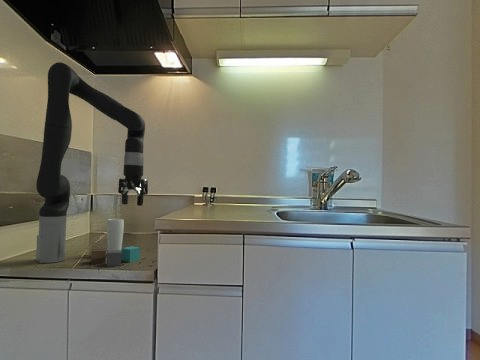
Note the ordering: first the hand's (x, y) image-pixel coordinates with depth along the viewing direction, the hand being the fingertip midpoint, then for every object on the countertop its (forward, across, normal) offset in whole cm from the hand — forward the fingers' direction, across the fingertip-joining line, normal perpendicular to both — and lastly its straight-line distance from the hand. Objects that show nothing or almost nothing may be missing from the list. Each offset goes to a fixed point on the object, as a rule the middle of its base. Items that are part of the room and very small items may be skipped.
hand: (132, 205), depth 134 cm
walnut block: (+22, -7, -9) cm, 25 cm away
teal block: (+22, 0, 0) cm, 22 cm away
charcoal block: (+22, +1, -8) cm, 24 cm away
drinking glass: (+22, -13, +3) cm, 26 cm away
